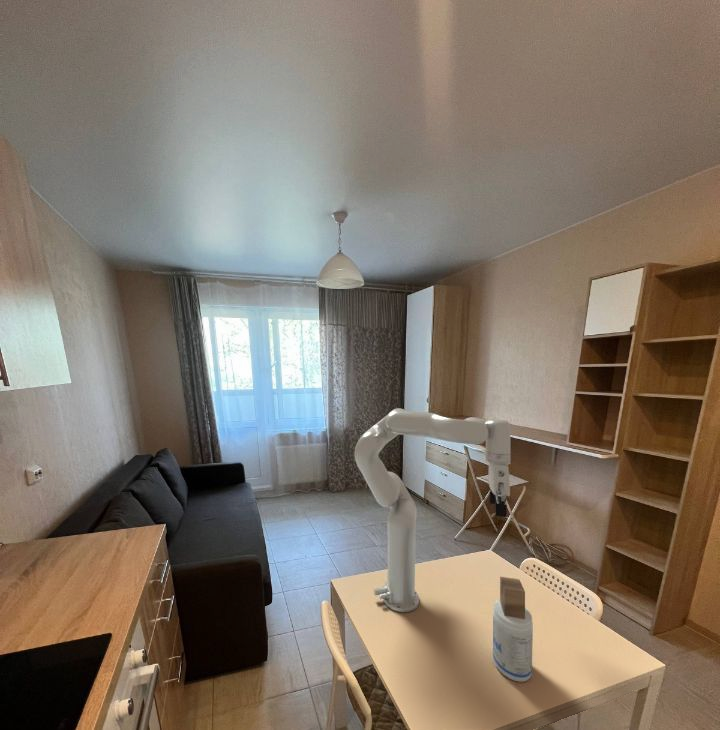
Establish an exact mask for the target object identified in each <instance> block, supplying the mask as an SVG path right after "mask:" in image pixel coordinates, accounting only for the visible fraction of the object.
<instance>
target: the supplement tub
mask: <svg viewBox="0 0 720 730" xmlns="http://www.w3.org/2000/svg"><path fill="white" fill-rule="evenodd" d="M492 614H493V615H492V617H493V619H492V620H493V621H492V660H493V663H494V665H495V666H496V668H497V670H498V671H499V672H500V673H501V674H502V675H504V676H505V677H506V678H508V679H509V680H512V681H515V682H520V683H521V682H526V681H528V680H530V679H531V677H532V676H533V675H532V674H533V642H534V641H533V638H534V637H533V627H534V626H533V616H532V614H531V611H530V610H529V609H528V608H527V607H525V619H521V618H515V617H510V616H504V613H503V609H502V606H501V603H500V599H497V600H496V601H495V602H494V605H493V613H492Z"/></svg>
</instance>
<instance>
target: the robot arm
mask: <svg viewBox="0 0 720 730" xmlns="http://www.w3.org/2000/svg"><path fill="white" fill-rule="evenodd" d="M398 435H402V436H414V437H423V438H429V439H434V440H440V441H444V442H451V443H456V444H465V445H467V444H468V445H481V444H483V443H485V461H486V462H488V486H489V503H490V504H492V505H494V506H495V507H494V509H495V511H494V512H495V516H496V517H500V518H501V517H502V518H503V517H504V518H506V517H507V515H508V513H507V512H508V510H507V509H508V505H507V498H506V497H510V495H511V488H510V470H509V465H511V422H510V421H508V420H505V419H499V418H490V419H486V418H480V417H474V416H472V417H471V416H470V417H467V418H464V419H456V418H450V417H446V416H442V415H439V414H438V413H434V412H424V411H423V412H422V411H410V410H405V409H403V408H399V407H397V408H394V409H393V410H392V409H391V411H390V412H389V413H388V414H387V415H385V416H384V417H383V418H382V419H381V420H379V421H378V422H376V424H374V425H373V426H371V427H370V428H369V429H368V430H366V431H364V433H363V434H362V435H361V436H360V438H359V439H358V441H357V443H356V444H355V448H354V454H353V455H354V460H355V463H356V466H357V468H358V469H359V471H360V473H361V474H362V476H363V478H364V480H365V482H366V484H367V485H368V488H369V489H370V491H371V493H372V495H373V496H374V498H375V501H376V502H377V503H378V504H379V505H380V506H381V507H383V508H389V509H390V510H389V513H388V518H387V523H386V524H387V526H386V527H387V529H386V530H387V576H386V577H387V578H386V579H387V581H385V582H384V585H383V586H382V587H377V588H373V595H374V596H379V599H380V600H382V601H383V603H384V604H385V606H386V607H388V608H389V609H391V610H392V611H394V612H399V613H408V612H412V611H414V610H415V609H416V608H418V606H419V604H420V595H419V593H418V592H417V591H416V587H415V586H416V527H417V525H416V524H417V512H418V511H417V506H416V503H415V501H414V500H413V497H412V496H411V494H410V493H409V491H408V489H407V487H406V486H405V484H404V482H403V480H402V479H401V478H400V476H399V475H398V474H396V473H395V472H393V471H388V470H387V468H386V466H385V464H384V463H383V461H382V460H381V458H380V457H379V455H380V452H382V450H383V449H384V447H385V446H386V445H387V444H388V443H389V442H390V441H392V440H393V439H395V437H397V436H398Z"/></svg>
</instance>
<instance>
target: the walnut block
mask: <svg viewBox="0 0 720 730" xmlns="http://www.w3.org/2000/svg"><path fill="white" fill-rule="evenodd" d="M499 600H500V603H501V606H502V609H503V613H504V616H510V617H515V618H521V619H525V608H526V591H525V589H524V586H523V584H522V582H521V580H520V579H519V578H511V577H506V576H505V577H504V576H499Z"/></svg>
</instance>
